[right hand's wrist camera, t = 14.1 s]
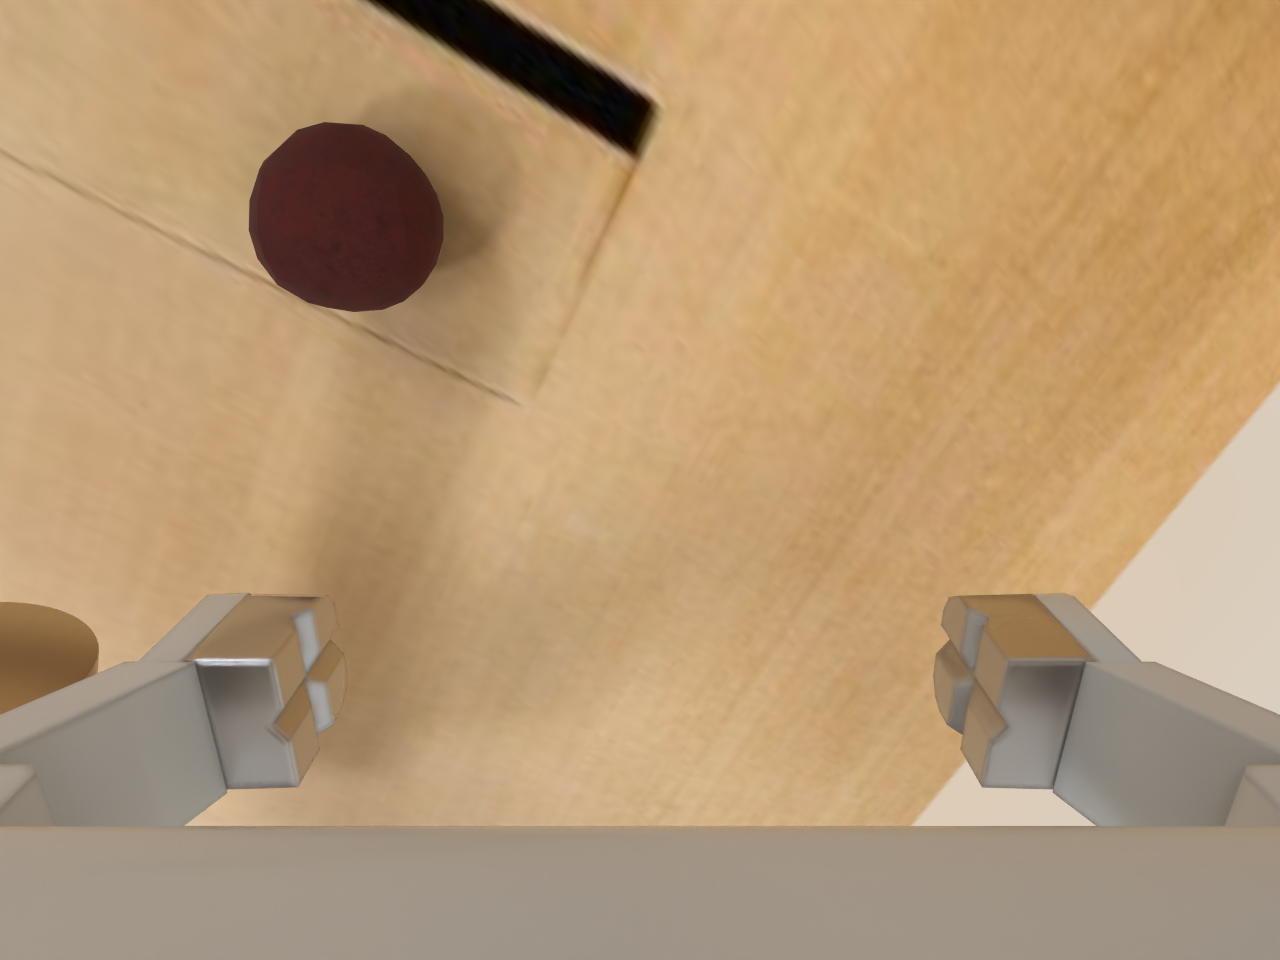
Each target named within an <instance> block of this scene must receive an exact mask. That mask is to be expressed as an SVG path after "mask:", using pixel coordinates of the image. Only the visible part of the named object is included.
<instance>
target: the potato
mask: <svg viewBox="0 0 1280 960" xmlns="http://www.w3.org/2000/svg"><path fill="white" fill-rule="evenodd" d="M249 232H250V235H251V239H252V242H253V245H254V248H255V252H256V255H257V258H258V260H259V261H260V262H261V264H262V265H263V266H264V268H265V269H266V270H267V272H268V273H269V274H270V276H271V277H272V278H273V280H274V281H275V282H276V284H277V285H279V286H280V287H282V288H284V289H286V290H287V291H289V292H291V293H293V294H294V295H296V296H298V297H299V298H301V299H303V300H305V301H306V302H308V303H312V304H315V305H319V306H323V307H327V308H333V309H339V310H345V311H352V312H358V311H371V310H383V309H385V308H388V307H390V306H393V305H395V304H398V303H400V302H403V301H404V300H406V299H407V298H408V297H409V296H410V295H412V294H413V293H414V292H415V291H416V290H418V289H419V288H420V287H421V286H422V285H423V284H424V282H425V281H426V279H427V278H428V276H429V274H430V273H431V271H432V270H433V268H434V266H435V265H436V262H437V259H438V255H439V252H440V248H441V245H442V242H443V214H442V211H441V207H440V204H439V201H438V197H437V194H436V192H435V190H434V189H433V187H432V185H431V183H430V182H429V180H428V178H427V176H426V175H425V173H424V172H423V171H422V170H421V168H420V167H419V166H418V165H417V164H416V162H415V161H414V160H413V159H412V158H411V156H410V155H409V154H407V153H406V152H405V151H404V150H403V149H401V148H400V147H399V146H398V145H397V144H395V143H394V142H393V141H392V140H391V139H389V138H388V137H387V136H386V135H384V134H381V133H379V132H377V131H375V130H373V129H370V128H368V127H366V126H364V125H354V124H341V123H327V122H324V123H320V124H317V125H313V126H309V127H306V128H302V129H299V130H297V131H296V132H295V133H294V134H292V135H291V136H290V137H289V138H288V139H287V140H286V141H285V142H284V143H283V144H282V145H281V146H280V147H279V148H278V149H276V150H275V151H274V152H273V153H272V154H271V155H270V156H269V157H268V158H267V159H266V160H265V161H264V162H263V164H262V166H261V167H260V169H259V173H258V176H257V179H256V182H255V185H254V188H253V192H252V195H251V198H250V208H249Z"/></svg>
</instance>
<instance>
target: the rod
mask: <svg viewBox="0 0 1280 960" xmlns="http://www.w3.org/2000/svg"><path fill="white" fill-rule="evenodd" d="M98 657H99V646H98V642H97V638H96V636H95V635H94V633H93V631H92V630H91V629H90V628H89V627H88V626H87V625H86V624H85V623H84V622H82V621H81V620H79V619H78V618H76V617H74V616H72V615H70V614H68V613H65V612H63V611H60V610H57V609H53V608H50V607H45V606H40V605H34V604H27V603H13V602H0V715H1V714H3V713H5V712H8V711H10V710H13V709H15V708H17V707H20V706H22V705H24V704H27V703H29V702H31V701H34V700H36V699H39V698H41V697H43V696H46V695H48V694H50V693H53V692H55V691H57V690H60V689H62V688H65V687H67V686H69V685H72V684H74V683H76V682H79V681H81V680H83V679H86V678H88V677H91V676H93V675H95V674H98Z"/></svg>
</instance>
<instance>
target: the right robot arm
mask: <svg viewBox="0 0 1280 960" xmlns="http://www.w3.org/2000/svg"><path fill="white" fill-rule="evenodd" d="M338 626H339V622H338V618H337V613H336V608H335V603H334V602H333V601H332V600H331V599H330V597H329V596H328V595H283V594H249V593H237V594H214V595H207V596H206V597H205V598H204V599H203V600H202V601H201V602H200V603H199V604H198V605H197V606H196V607H194V608H193V609H192V610H191V611H190V612H189V613H188V614H187V615H186V616H185V617H184V618H183V619H182V620H181V621H180V622H179V623H178V624H177V625H176V626H175V627H174V628H173V629H172V630H171V631H169V632H168V633H167V634H166V635H165V636H164V637H163V638H162V639H161V640H160V641H159V642H158V643H157V644H156V645H155V646H154V647H153V648H152V649H151V650H150V651H149V652H148V653H147V654H145V655H144V656H143V657H142V658H141V659H140V660H139V661H138V662H124V663H121V664H119V665H117V666H114V667H112V668H109V669H107V670H105V671H102V672H100V673H98V674H95V675H93V676H91V677H88V678H86V679H83V680H81V681H79V682H76V683H74V684H72V685H69V686H67V687H65V688H62V689H60V690H57V691H55V692H53V693H50V694H48V695H46V696H43V697H41V698H39V699H36V700H34V701H31V702H29V703H27V704H24V705H22V706H20V707H17V708H15V709H13V710H10V711H8V712H5V713H3V714H1V715H0V960H1280V715H1279V714H1277V713H1274V712H1272V711H1270V710H1267V709H1265V708H1262V707H1260V706H1258V705H1255V704H1253V703H1251V702H1248V701H1246V700H1244V699H1241V698H1239V697H1237V696H1234V695H1232V694H1229V693H1227V692H1225V691H1222V690H1220V689H1218V688H1215V687H1213V686H1211V685H1208V684H1206V683H1204V682H1201V681H1199V680H1196V679H1194V678H1192V677H1189V676H1187V675H1185V674H1182V673H1180V672H1178V671H1175V670H1173V669H1171V668H1168V667H1166V666H1163V665H1161V664H1159V663H1156V662H1142V661H1141V660H1140V659H1139V658H1138V657H1137V656H1136V655H1135V654H1134V653H1132V652H1131V651H1130V650H1129V649H1128V648H1127V647H1126V646H1125V645H1124V644H1123V643H1122V642H1121V641H1120V640H1119V639H1118V638H1117V637H1116V636H1115V635H1114V634H1113V633H1112V632H1111V631H1110V630H1109V629H1108V628H1107V627H1105V626H1104V625H1103V624H1102V623H1101V622H1100V621H1099V620H1098V619H1097V618H1096V617H1095V616H1094V615H1093V614H1092V613H1091V612H1090V611H1089V610H1088V609H1087V608H1086V607H1085V606H1084V605H1083V604H1082V603H1081V602H1079V601H1078V600H1077V599H1076V598H1075V597H1074V596H1071V595H1068V594H1065V593H1052V594H1014V595H973V596H953V597H949V599H948V601H947V603H946V605H945V607H944V611H943V617H942V622H941V626H942V627H943V629H944V630H945V632H946V633H947V635H948V636H949V638H950V640H949V641H948V642H947V643H946V644H945V645H944V646H943V647H942V648H941V649H940V650H939V651H938V652H937V653H936V659H935V666H934V674H933V678H934V689H935V698H936V701H937V704H938V707H939V711H940V713H941V715H942V716H943V718H944V720H945V722H946V724H947V725H948V726H950V727H951V728H953V729H954V730H956V731H958V732H959V733H961V734H962V735H963V737H962V743H961V748H960V749H961V751H962V753H963V754H964V756H965V758H966V760H967V761H968V763H969V765H970V767H971V769H972V770H973V772H974V774H975V776H976V777H977V779H978V781H979V783H980V784H981V786H982V787H987V788H1024V789H1053V793H1054V794H1056V795H1057V796H1058V797H1059V798H1061V799H1062V800H1063V801H1065V802H1066V803H1067V804H1068V805H1070V806H1071V807H1072V808H1074V809H1075V810H1076V811H1078V812H1079V813H1080V814H1082V815H1083V816H1084V817H1085V818H1087V819H1088V820H1089V821H1091V822H1092V823H1093V824H1095V825H1096V826H184V825H186V824H187V823H188V822H190V821H191V820H192V819H193V818H195V817H196V816H197V815H199V814H200V813H201V812H203V811H204V810H205V809H207V808H208V807H209V806H210V805H212V804H213V803H214V802H216V801H217V800H218V799H220V798H221V797H222V796H224V795H225V794H226V793H227V789H255V788H291V787H298V786H299V784H300V783H301V781H302V779H303V777H304V776H305V774H306V772H307V770H308V769H309V767H310V765H311V763H312V762H313V760H314V758H315V756H316V754H317V753H318V751H319V749H320V748H319V743H318V737H317V735H318V734H319V733H321V732H322V731H324V730H326V729H327V728H329V727H330V726H332V725H333V724H334V722H335V720H336V718H337V716H338V714H339V712H340V711H341V708H342V704H343V699H344V695H345V691H346V664H345V658H344V653H343V652H342V651H341V650H340V649H339V648H338V647H337V646H336V645H335V644H334V643H333V642H332V641H331V640H330V638H331V636H332V635H333V633H334V632H335V630H336V629H337V627H338Z"/></svg>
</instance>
